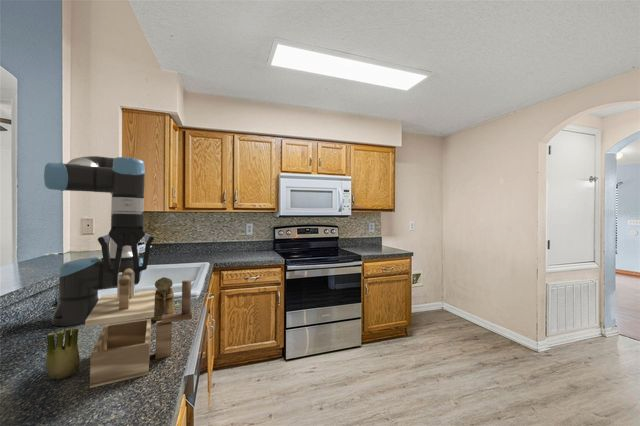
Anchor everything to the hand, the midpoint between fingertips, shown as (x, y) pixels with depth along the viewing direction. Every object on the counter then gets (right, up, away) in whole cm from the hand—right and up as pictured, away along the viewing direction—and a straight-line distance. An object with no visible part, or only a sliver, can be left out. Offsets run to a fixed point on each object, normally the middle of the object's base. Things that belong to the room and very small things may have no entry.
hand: (126, 295), depth 79 cm
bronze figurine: (-8, -19, +32) cm, 38 cm away
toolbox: (+2, -19, +1) cm, 19 cm away
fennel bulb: (-11, -19, -7) cm, 23 cm away
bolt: (+11, -9, +6) cm, 16 cm away
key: (-12, -20, +44) cm, 50 cm away
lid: (0, -4, 0) cm, 4 cm away
